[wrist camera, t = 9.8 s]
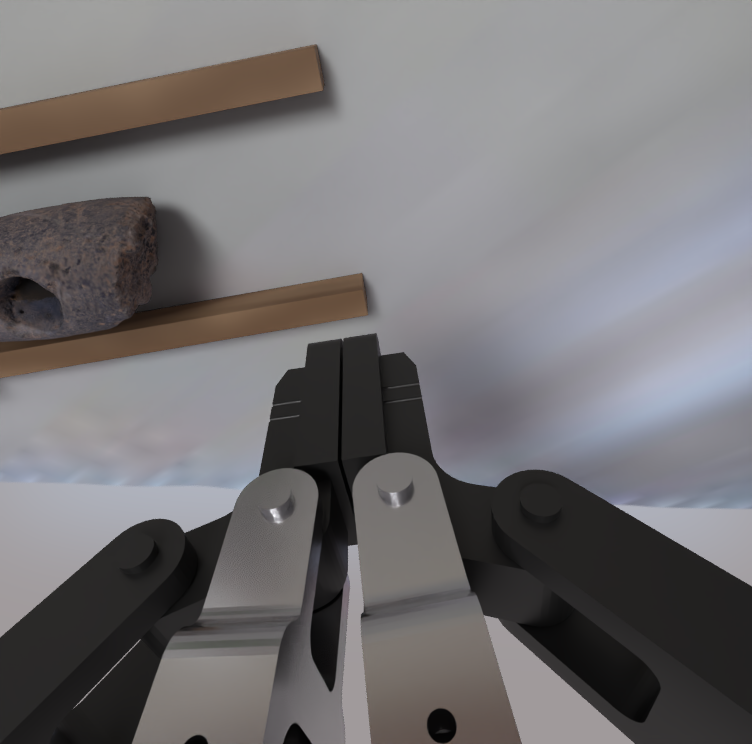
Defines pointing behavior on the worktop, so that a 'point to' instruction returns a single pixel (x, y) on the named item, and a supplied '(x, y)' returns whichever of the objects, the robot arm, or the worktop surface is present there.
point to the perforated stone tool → (75, 267)
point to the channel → (156, 105)
